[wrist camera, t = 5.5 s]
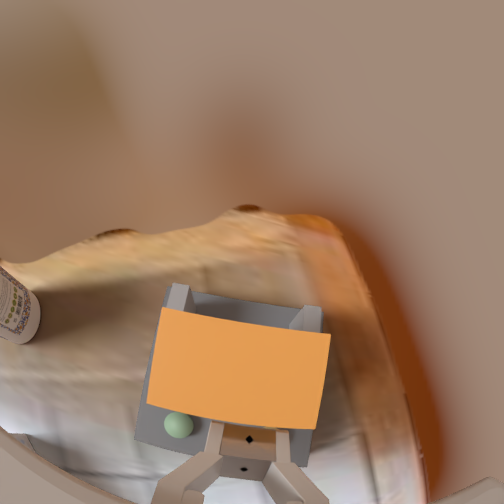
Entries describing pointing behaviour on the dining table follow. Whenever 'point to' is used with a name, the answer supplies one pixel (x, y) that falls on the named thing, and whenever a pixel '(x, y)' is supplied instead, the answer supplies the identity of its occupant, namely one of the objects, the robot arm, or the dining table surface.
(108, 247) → the dining table surface
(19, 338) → the bath foam
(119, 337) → the dining table surface
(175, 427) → the grey knob panel
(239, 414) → the lever
